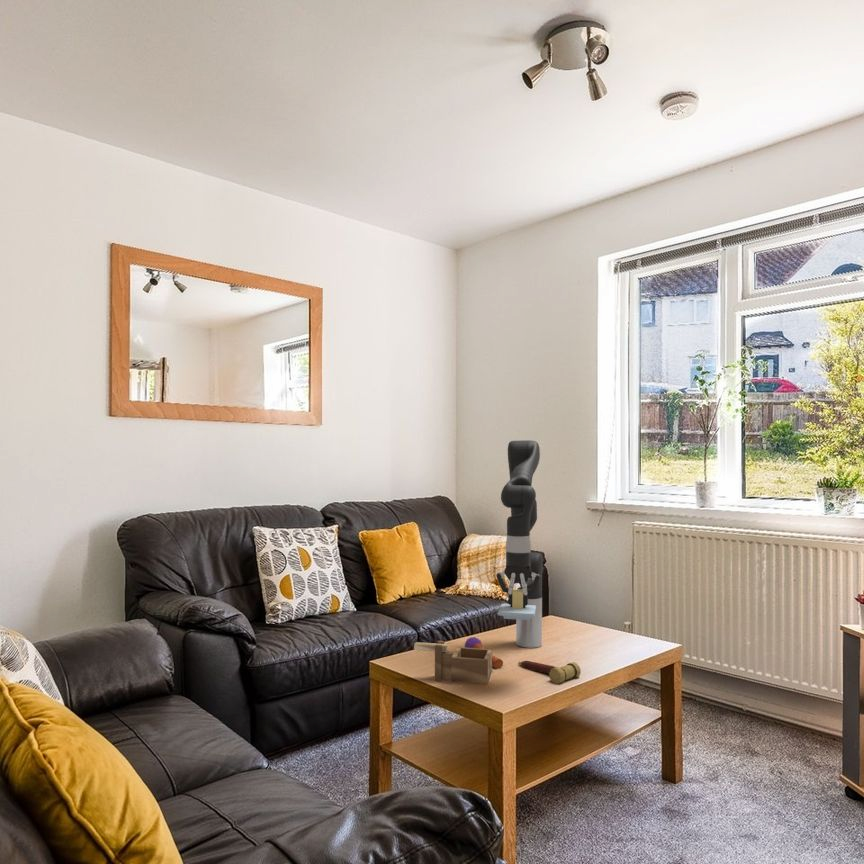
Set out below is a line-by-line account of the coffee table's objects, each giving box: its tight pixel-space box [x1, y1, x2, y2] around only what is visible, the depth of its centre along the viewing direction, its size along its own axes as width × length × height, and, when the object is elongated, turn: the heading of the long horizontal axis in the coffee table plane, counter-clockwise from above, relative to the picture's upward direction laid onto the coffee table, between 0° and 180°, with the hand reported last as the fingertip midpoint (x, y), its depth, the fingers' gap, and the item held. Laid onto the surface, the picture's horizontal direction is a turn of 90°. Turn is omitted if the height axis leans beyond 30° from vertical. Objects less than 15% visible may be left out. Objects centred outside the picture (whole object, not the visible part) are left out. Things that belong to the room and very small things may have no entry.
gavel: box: [517, 660, 582, 684], centre depth 212 cm, size 21×5×10 cm
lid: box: [497, 588, 536, 620], centre depth 203 cm, size 12×11×7 cm
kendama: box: [464, 636, 504, 670], centre depth 225 cm, size 6×6×20 cm
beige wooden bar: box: [413, 641, 449, 653], centre depth 206 cm, size 2×10×2 cm, turn 78°
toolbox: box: [434, 640, 493, 685], centre depth 208 cm, size 12×16×11 cm
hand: (518, 606), depth 206 cm, fingers closed on lid, 3 cm apart
